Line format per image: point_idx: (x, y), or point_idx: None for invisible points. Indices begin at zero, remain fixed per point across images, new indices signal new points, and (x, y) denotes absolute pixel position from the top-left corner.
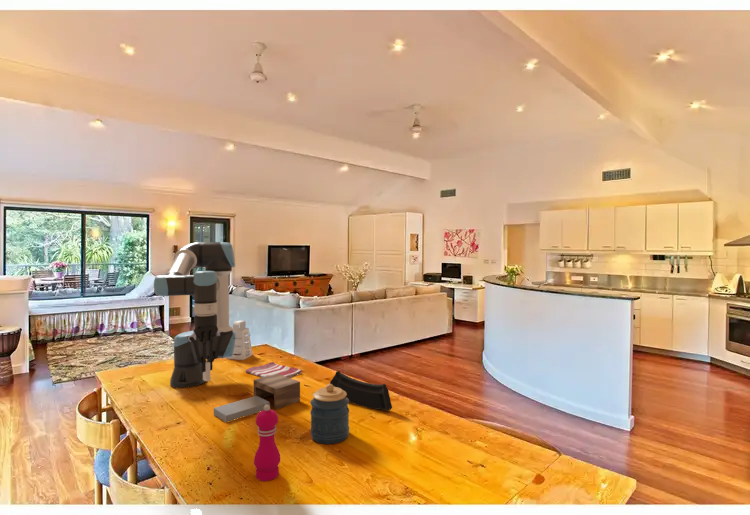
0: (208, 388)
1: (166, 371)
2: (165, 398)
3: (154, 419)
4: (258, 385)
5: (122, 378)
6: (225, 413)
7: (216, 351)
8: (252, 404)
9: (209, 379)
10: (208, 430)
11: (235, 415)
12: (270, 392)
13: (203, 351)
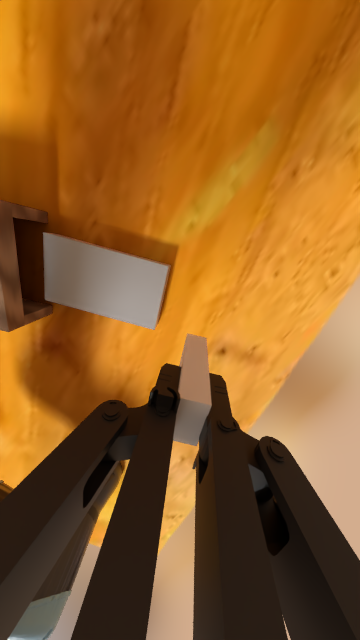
0: None
1: None
2: None
3: (231, 398)
4: (15, 304)
5: None
6: (160, 279)
7: (70, 476)
8: (83, 263)
9: (191, 337)
10: (221, 266)
11: (145, 259)
12: (13, 238)
13: (262, 581)
